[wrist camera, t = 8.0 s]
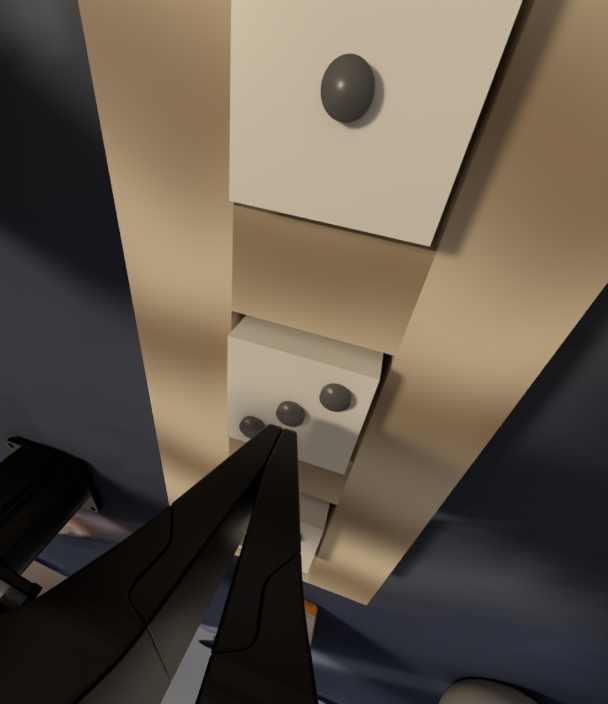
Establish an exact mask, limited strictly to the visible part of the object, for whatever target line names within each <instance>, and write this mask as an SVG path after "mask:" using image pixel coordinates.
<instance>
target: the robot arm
mask: <svg viewBox="0 0 608 704" xmlns="http://www.w3.org/2000/svg"><path fill="white" fill-rule="evenodd" d="M5 443H6V445H7V447H8V448H9V450H10V451H11V453H12V454H10V455H9V456H8V457H7V458H5V459H4V460H3V461H2V462H0V592H1V593H2V594H3V596H2V597H1V598H0V704H160V703H161V701H162V699H163V697H164V695H165V693H166V691H167V689H168V687H169V685H170V683H171V680H172V679H173V677H174V675H175V673H176V671H177V669H178V667H179V665H180V663H181V661H182V659H183V657H184V655H185V653H186V651H187V649H188V647H189V645H190V643H191V641H192V639H193V637H194V635H195V633H196V631H197V629H198V627H199V625H200V623H201V621H202V619H203V617H204V615H205V613H206V611H207V609H208V607H209V605H210V603H211V601H212V599H213V597H214V595H215V593H216V591H217V589H218V587H219V585H220V583H221V581H222V579H223V577H224V575H225V573H226V571H227V569H228V567H229V565H230V563H231V561H232V559H233V557H234V555H235V553H236V551H237V549H238V547H239V545H240V543H241V541H242V539H243V537H244V535H245V537H244V541H243V544H242V548H241V551H240V555H239V558H238V562H237V565H236V568H235V572H234V575H233V579H232V582H231V586H230V589H229V593H228V596H227V599H226V603H225V606H224V610H223V613H222V617H221V620H220V624H219V627H218V630H217V634H216V637H215V641H214V644H213V648H212V651H211V654H212V655H211V656H210V658H209V662H208V665H207V668H206V671H205V675H204V678H203V681H202V684H201V688H200V690H199V694H198V697H197V700H196V702H195V704H318V697H317V690H316V684H315V677H314V670H313V663H312V656H311V650H310V643H309V636H308V629H307V621H306V613H305V605H304V596H303V580H302V557H301V554H300V553H301V532H300V502H299V472H298V443H297V432H295V431H292V430H289V429H286V428H285V429H283V428H282V427H280V426H277V425H274V424H269V425H267V426H266V427H265V428H263V429H262V430H261V431H260V432H258V433H257V434H256V435H255V436H254V437H252V438H251V439H250V440H249V441H247V442H246V443H245V444H244V445H243V446H241V447H240V448H239V449H238V450H236V451H235V452H234V453H233V454H231V455H230V456H229V457H228V458H227V459H225V460H224V461H223V462H222V463H220V464H219V465H218V466H217V467H216V468H214V469H213V470H212V471H211V472H209V473H208V474H207V475H206V476H204V477H203V478H202V479H201V480H200V481H198V482H197V483H196V484H195V485H193V486H192V487H191V488H190V489H189V490H187V491H186V492H185V493H184V494H182V495H181V496H180V497H179V498H177V499H176V500H175V501H174V502H173V503H172V504H171V506H170V505H169V506H167V507H166V508H165V509H164V510H163V511H161V512H160V513H159V514H158V515H156V516H155V517H154V518H153V519H151V520H150V521H149V522H147V523H146V524H145V525H144V526H142V527H141V528H140V529H138V530H137V531H136V532H134V533H133V534H132V535H130V536H129V537H127V538H126V539H124V540H123V541H122V542H120V543H119V544H117V545H116V546H114V547H113V548H111V549H110V550H108V551H107V552H106V553H104V554H103V555H101V556H100V557H98V558H97V559H95V560H94V561H92V562H91V563H89V564H88V565H86V566H85V567H83V568H82V569H80V570H79V571H77V572H76V573H74V574H73V575H71V576H70V577H68V578H67V579H65V580H64V581H62V582H61V583H59V584H58V585H56V586H55V587H53V588H52V589H50V590H49V591H47V592H46V593H44V594H42V595H40V596H39V597H37V596H38V594H39V593H40V591H41V590H42V587H41V586H40V585H38V584H37V583H31V582H30V581H28V580H27V579H25V578H23V577H22V576H21V574H22V573H23V572H24V571H25V570H26V569H27V568H28V566H29V565H30V564H31V563H32V562H33V561H34V560H35V559H36V557H37V556H38V555H39V554H40V553H41V552H42V551H43V550H44V548H45V547H46V546H47V545H48V544H49V543H50V542H51V540H52V539H53V538H54V537H55V536H56V535H57V534H58V533H59V531H60V530H61V529H62V528H63V527H64V526H65V525H66V523H67V522H68V521H69V520H70V519H71V518H72V517H73V516H74V514H75V513H76V512H77V511H78V510H79V509H80V508H81V507H83V508H85V509H88V510H90V511H93V512H96V513H98V512H99V511H100V509H101V508H102V505H101V503H100V501H99V498H98V496H97V493H96V491H95V489H94V486H93V484H92V481H91V479H90V476H89V474H88V472H87V469H86V467H85V465H84V464H83V463H81V462H80V461H77V460H75V459H72V458H69V457H67V456H64V455H61V454H58V453H56V452H53V451H50V450H48V449H45V448H42V447H39V446H37V445H34V444H31V443H29V442H26V441H23V440H20V439H18V438H15V437H10V438H9V439H7V440H6V441H5ZM245 533H246V534H245ZM36 597H37V598H36Z"/></svg>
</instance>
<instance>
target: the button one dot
mask: <svg viewBox="0 0 608 704" xmlns="http://www.w3.org/2000/svg"><path fill="white" fill-rule="evenodd" d="M521 3H522V0H231V65H230V157H229V201H232V202H237V203H241V204H246V205H250V206H254V207H259V208H263V209H267V210H272V211H276V212H281V213H285V214H289V215H294V216H298V217H303V218H307V219H311V220H316V221H320V222H324V223H329V224H333V225H338V226H342V227H346V228H351V229H355V230H360V231H364V232H368V233H373V234H377V235H381V236H386V237H390V238H395V239H399V240H403V241H408V242H412V243H416V244H421V245H425V246H430V245H431V242H432V240H433V237H434V234H435V232H436V229H437V226H438V224H439V221H440V218H441V216H442V213H443V210H444V208H445V205H446V202H447V200H448V197H449V194H450V192H451V189H452V186H453V184H454V181H455V178H456V176H457V173H458V170H459V168H460V165H461V162H462V160H463V157H464V154H465V152H466V149H467V146H468V144H469V141H470V139H471V136H472V133H473V131H474V128H475V125H476V123H477V120H478V117H479V115H480V112H481V109H482V107H483V104H484V101H485V99H486V96H487V93H488V91H489V88H490V85H491V83H492V80H493V77H494V75H495V72H496V69H497V67H498V64H499V61H500V59H501V56H502V53H503V51H504V48H505V45H506V43H507V40H508V37H509V35H510V32H511V30H512V27H513V24H514V22H515V19H516V16H517V14H518V11H519V8H520V6H521Z"/></svg>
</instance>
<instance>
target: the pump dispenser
mask: <svg viewBox="0 0 608 704" xmlns="http://www.w3.org/2000/svg"><path fill="white" fill-rule="evenodd" d="M439 704H538V703H536V702H535V701H534V700H533V699H531V698H530V697H528V696H527V695H525V694H524V693H522V692H520V691H519V690H517V689H514V688H512V687H509V686H507V685H504V684H501V683H497V682H493V681H488V680H482V679H466V680H462V681H459V682H457V683H455V684H453V685H452V686H450V687H449V688H448V689H447V690H446V692H445V693H444V694H443V696H442V698H441V700H440V702H439Z"/></svg>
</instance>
